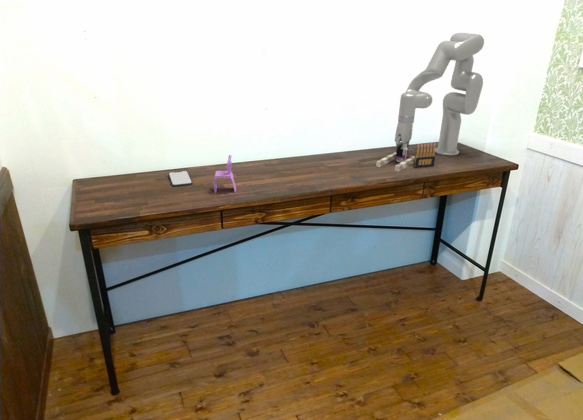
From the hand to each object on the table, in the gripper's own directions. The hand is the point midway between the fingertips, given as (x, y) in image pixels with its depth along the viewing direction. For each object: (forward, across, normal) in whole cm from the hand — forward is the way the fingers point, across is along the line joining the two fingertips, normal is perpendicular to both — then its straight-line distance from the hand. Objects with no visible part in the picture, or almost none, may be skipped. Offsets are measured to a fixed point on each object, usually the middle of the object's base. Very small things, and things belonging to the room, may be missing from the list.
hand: (401, 154), depth 228 cm
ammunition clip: (+4, 0, +12) cm, 13 cm away
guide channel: (+4, +5, 0) cm, 6 cm away
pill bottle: (+4, 0, 0) cm, 4 cm away
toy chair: (+4, +84, -40) cm, 93 cm away
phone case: (+5, +88, -64) cm, 109 cm away
